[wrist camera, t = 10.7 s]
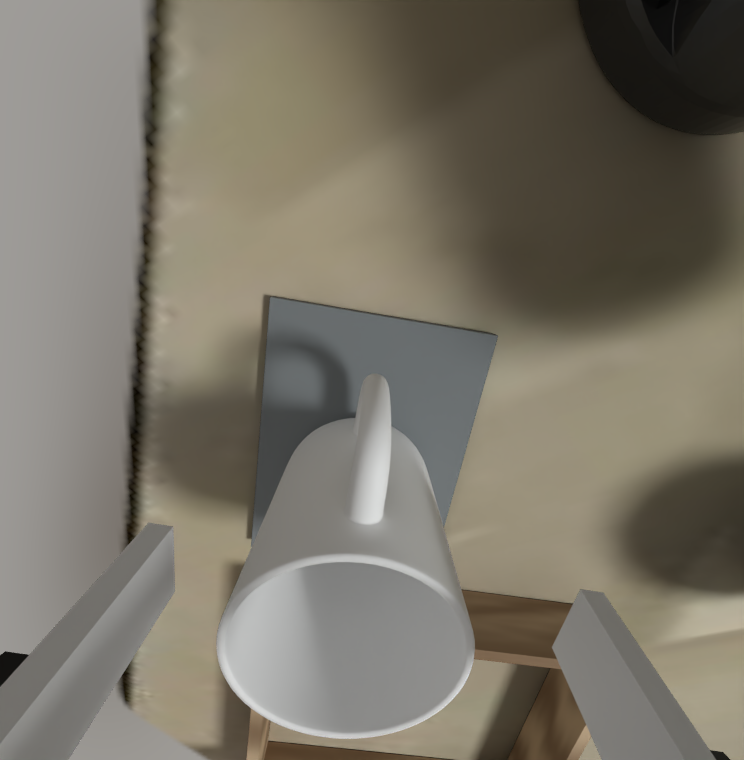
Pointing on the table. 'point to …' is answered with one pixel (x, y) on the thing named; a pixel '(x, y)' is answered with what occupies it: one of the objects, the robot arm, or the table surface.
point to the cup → (349, 588)
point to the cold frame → (492, 643)
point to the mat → (345, 378)
